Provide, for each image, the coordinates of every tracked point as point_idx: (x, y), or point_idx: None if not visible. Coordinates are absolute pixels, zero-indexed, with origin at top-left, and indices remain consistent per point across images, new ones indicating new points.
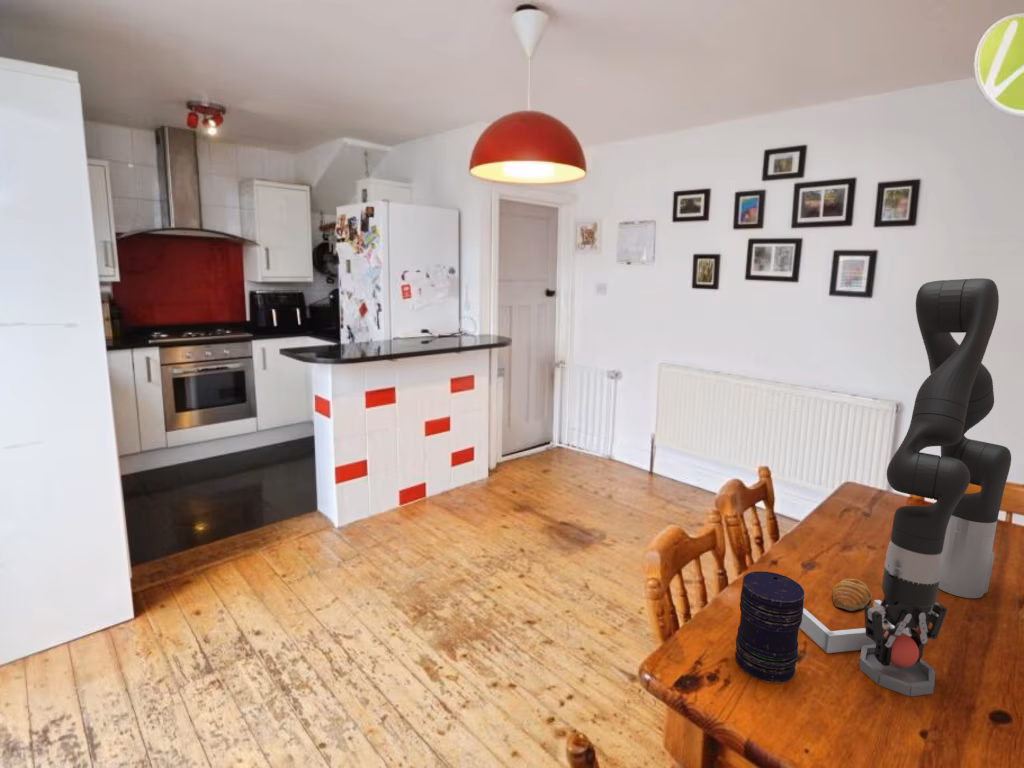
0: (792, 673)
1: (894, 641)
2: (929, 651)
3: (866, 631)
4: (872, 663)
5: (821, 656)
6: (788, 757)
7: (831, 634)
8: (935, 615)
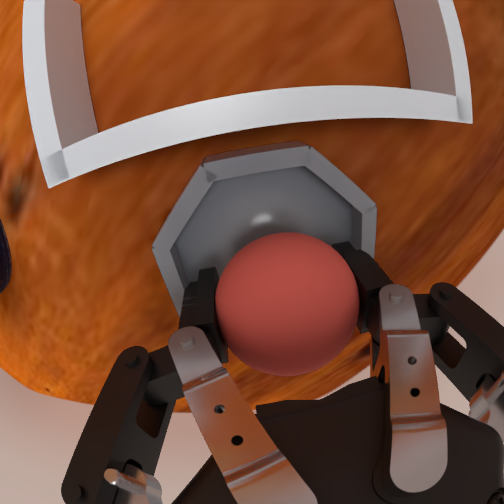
0: (4, 282)
1: (249, 362)
2: (439, 150)
3: (113, 376)
4: (207, 226)
5: (66, 186)
6: (34, 390)
7: (58, 175)
8: (470, 414)
